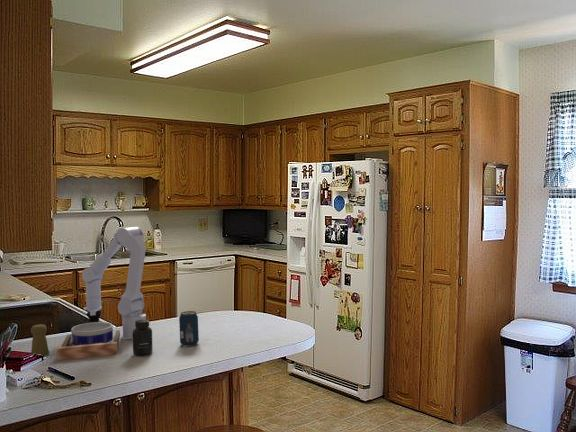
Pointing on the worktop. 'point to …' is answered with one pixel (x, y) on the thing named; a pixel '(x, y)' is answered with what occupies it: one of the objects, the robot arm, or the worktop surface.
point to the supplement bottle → (142, 338)
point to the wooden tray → (87, 349)
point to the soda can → (188, 328)
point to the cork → (39, 340)
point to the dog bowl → (92, 333)
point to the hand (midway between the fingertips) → (95, 329)
